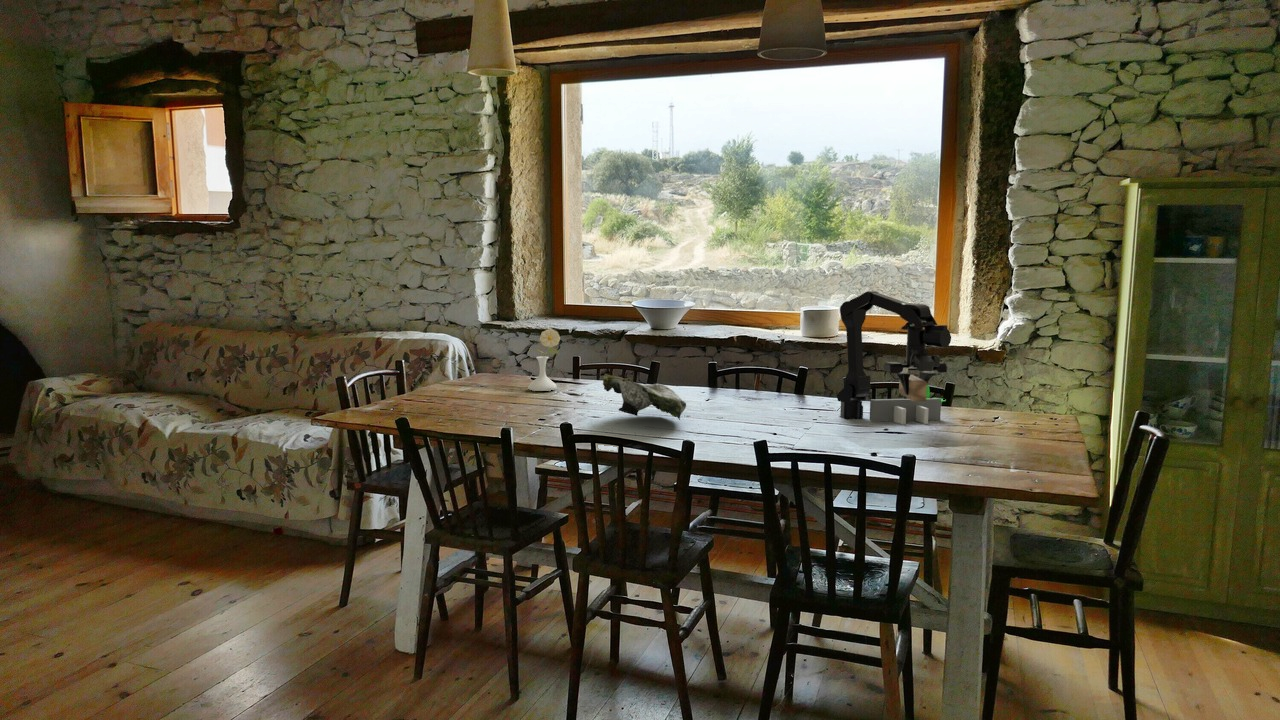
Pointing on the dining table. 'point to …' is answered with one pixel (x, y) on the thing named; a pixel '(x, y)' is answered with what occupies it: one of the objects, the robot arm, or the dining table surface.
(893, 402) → the slab with two fins
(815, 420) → the dining table surface
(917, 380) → the rail
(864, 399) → the robot arm
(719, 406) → the dining table surface
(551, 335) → the flower in vase
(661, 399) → the rock
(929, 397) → the mechanical part
